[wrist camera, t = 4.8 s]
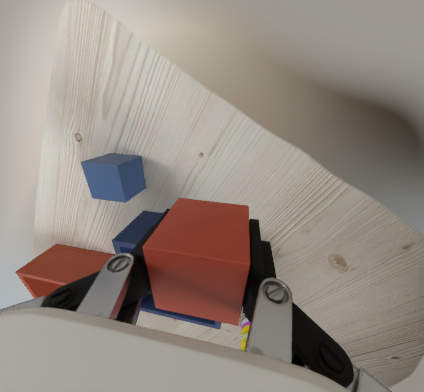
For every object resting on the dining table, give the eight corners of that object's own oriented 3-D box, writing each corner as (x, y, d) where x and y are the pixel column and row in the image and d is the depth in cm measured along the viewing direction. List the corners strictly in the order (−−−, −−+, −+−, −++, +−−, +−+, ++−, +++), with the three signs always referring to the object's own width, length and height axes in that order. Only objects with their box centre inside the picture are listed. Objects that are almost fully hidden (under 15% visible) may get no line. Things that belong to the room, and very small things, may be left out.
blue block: (117, 184, 24) (92, 198, 20) (110, 153, 22) (80, 162, 18) (146, 187, 24) (125, 202, 20) (141, 155, 22) (117, 165, 18)
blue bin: (154, 271, 32) (132, 308, 26) (143, 210, 26) (111, 240, 20) (225, 285, 30) (220, 329, 24) (232, 222, 24) (227, 260, 18)
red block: (182, 248, 13) (155, 308, 9) (178, 197, 11) (141, 246, 7) (240, 257, 12) (238, 326, 9) (248, 205, 10) (250, 264, 6)
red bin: (78, 287, 40) (48, 318, 34) (56, 243, 34) (15, 271, 28) (129, 299, 38) (107, 334, 32) (116, 255, 32) (85, 288, 26)
